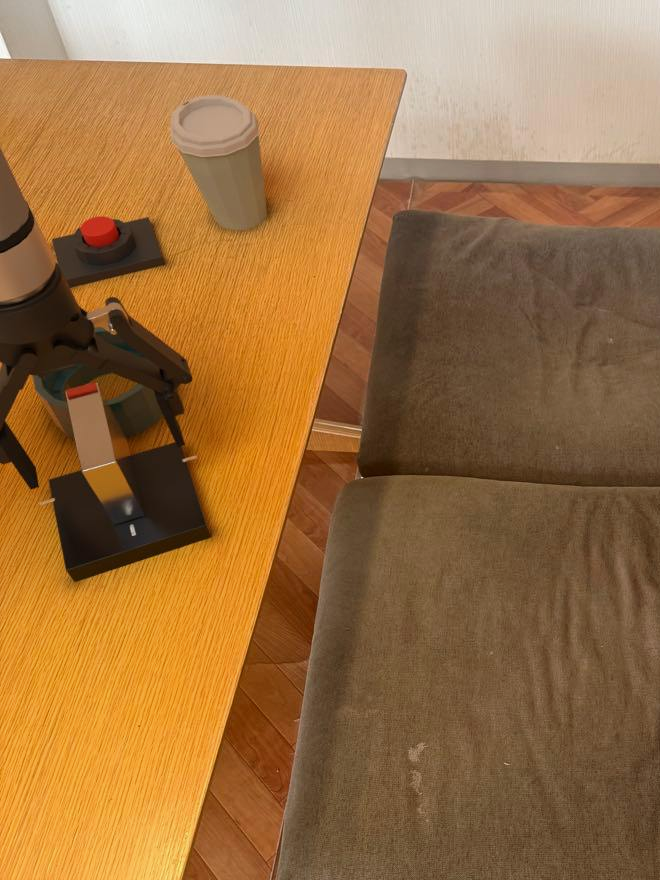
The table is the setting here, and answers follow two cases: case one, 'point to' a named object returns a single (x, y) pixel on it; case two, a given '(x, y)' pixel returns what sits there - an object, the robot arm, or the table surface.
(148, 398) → the teal ring
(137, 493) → the reflective bent rectangular block
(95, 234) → the button
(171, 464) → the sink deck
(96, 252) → the button box
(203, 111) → the disposable coffee cup
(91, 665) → the table surface
